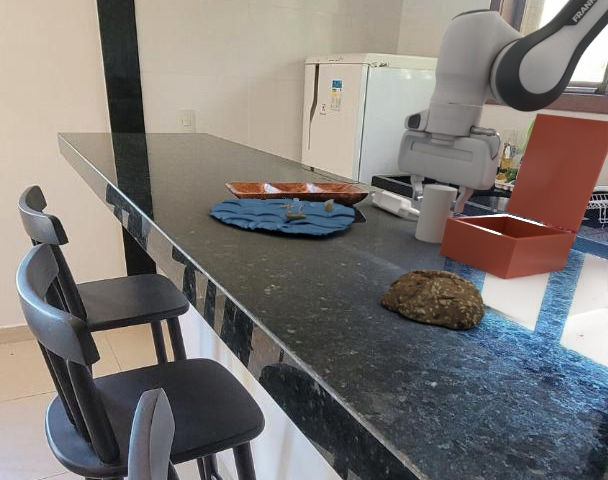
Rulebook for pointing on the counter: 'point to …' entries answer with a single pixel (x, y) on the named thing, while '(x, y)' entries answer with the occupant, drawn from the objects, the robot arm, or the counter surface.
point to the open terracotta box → (506, 245)
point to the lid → (559, 170)
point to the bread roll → (436, 299)
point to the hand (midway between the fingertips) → (436, 206)
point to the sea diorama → (285, 215)
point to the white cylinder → (434, 212)
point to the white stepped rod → (394, 203)
